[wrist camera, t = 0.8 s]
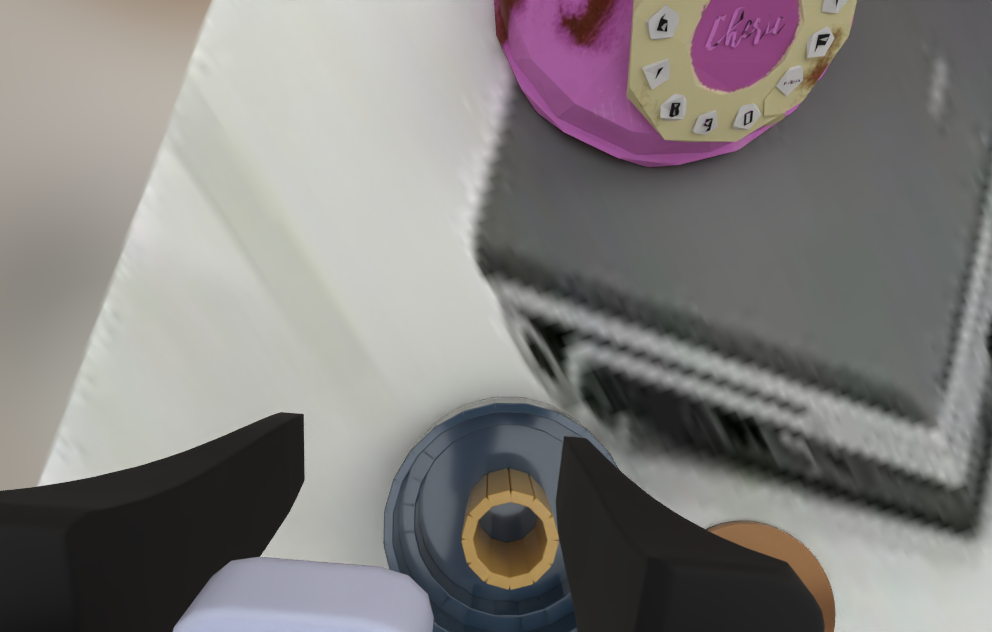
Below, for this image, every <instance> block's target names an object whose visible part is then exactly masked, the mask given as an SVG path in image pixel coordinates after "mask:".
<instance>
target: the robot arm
mask: <svg viewBox="0 0 992 632" xmlns="http://www.w3.org/2000/svg"><path fill="white" fill-rule="evenodd" d="M303 482H304V414H295V413H283V412H281V413H278V414H274V415H272V416H269V417H266V418H264V419H261V420H259V421H257V422H254V423H252V424H250V425H248V426H245V427H243V428H241V429H238V430H236V431H234V432H232V433H229V434H227V435H225V436H222V437H220V438H217V439H215V440H212V441H210V442H207V443H205V444H202V445H200V446H197V447H195V448H192V449H190V450H187V451H185V452H182V453H179V454H176V455H173V456H170V457H167V458H164V459H161V460H158V461H154V462H151V463H148V464H145V465H141V466H137V467H134V468H129V469H125V470H121V471H117V472H113V473H109V474H104V475H100V476H96V477H91V478H86V479H81V480H76V481H70V482H65V483H58V484H52V485H46V486H39V487H32V488H24V489H15V490H5V491H0V632H433V619H434V617H433V613H432V609H431V605H430V601H429V597H428V594H427V593H426V592H425V591H424V590H423V589H422V588H421V587H420V586H419V585H418V584H417V583H416V582H415V581H414V580H413V579H412V578H410V577H409V576H408V575H405V574H402V573H399V572H396V571H392V570H389V569H386V568H383V567H376V566H364V565H352V564H340V563H328V562H316V561H304V560H292V559H280V558H268V557H260V556H261V554H262V553H263V551H264V550H265V548H266V547H267V545H268V544H269V542H270V541H271V539H272V538H273V536H274V535H275V533H276V532H277V530H278V529H279V527H280V526H281V524H282V523H283V521H284V520H285V518H286V516H287V515H288V513H289V512H290V510H291V508H292V506H293V504H294V502H295V500H296V498H297V496H298V493H299V491H300V489H301V487H302V484H303ZM556 514H557V527H558V536H559V541H560V546H561V550H562V555H563V560H564V565H565V569H566V574H567V578H568V583H569V588H570V592H571V597H572V602H573V606H574V612H575V618H576V624H577V632H824V630H825V623H824V618H823V613H822V610H821V608H820V606H819V605H818V603H817V601H816V600H815V598H814V596H813V595H812V594H811V592H810V591H809V590H808V588H807V587H806V586H805V584H804V583H803V582H802V580H801V579H800V578H799V576H798V575H797V574H796V572H795V571H794V570H793V568H792V567H791V566H790V565H789V563H788V562H786V561H783V560H780V559H777V558H774V557H771V556H768V555H765V554H763V553H760V552H757V551H754V550H751V549H748V548H746V547H743V546H741V545H738V544H736V543H734V542H731V541H729V540H727V539H724V538H722V537H720V536H718V535H716V534H714V533H711V532H709V531H707V530H705V529H703V528H701V527H700V526H698V525H696V524H694V523H692V522H690V521H689V520H687V519H685V518H683V517H682V516H680V515H678V514H677V513H675V512H673V511H672V510H670V509H669V508H667V507H666V506H664V505H663V504H661V503H660V502H658V501H657V500H655V499H654V498H653V497H651V496H650V495H649V494H647V493H646V492H645V491H643V490H642V489H641V488H640V487H638V486H637V485H636V484H635V483H634V482H632V481H631V480H630V479H629V478H628V477H627V476H625V475H624V474H623V473H622V472H621V471H620V470H619V469H618V468H617V467H616V466H615V465H613V464H612V463H611V462H610V461H609V460H608V459H607V458H606V457H605V456H604V455H603V454H602V453H601V452H600V451H599V450H598V449H597V448H596V447H595V446H594V445H593V444H592V443H591V442H590V441H589V440H588V439H587V438H580V437H568V436H564V440H563V447H562V455H561V463H560V471H559V479H558V486H557V494H556Z"/></svg>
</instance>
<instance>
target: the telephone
mask: <svg viewBox="0 0 992 632" xmlns="http://www.w3.org/2000/svg"><path fill="white" fill-rule="evenodd" d="M856 3H857V0H494V5H495V20H496V35H497V37H498V40H499V42H500V44H501V46H502V48H503V50H504V53H505V55H506V57H507V59H508V61H509V63H510V66H511V68H512V70H513V72H514V74H515V76H516V79H517V81H518V83H519V85H520V87H521V89H522V91H523V92H524V94H525V95H526V97H527V98H528V100H529V101H530V103H531V104H532V106H533V107H534V109H535V110H536V112H537V113H538V114H540V115H541V116H543V117H544V118H545V119H547V120H548V121H549V122H551V123H552V124H553V125H555V126H556V127H557V128H559V129H560V130H562V131H563V132H564V133H567V134H569V135H571V136H573V137H575V138H577V139H579V140H581V141H583V142H585V143H587V144H589V145H592V146H594V147H596V148H598V149H600V150H602V151H604V152H606V153H608V154H610V155H612V156H614V157H616V158H619V159H623V160H626V161H629V162H632V163H636V164H639V165H642V166H646V167H659V166H671V165H680V164H684V163H688V162H692V161H697V160H701V159H705V158H709V157H713V156H717V155H721V154H726V153H730V152H734V151H738V150H739V149H740V148H742V147H743V146H745V145H746V144H748V143H749V142H750V141H752V140H753V139H755V138H756V137H757V136H759V135H760V134H762V133H763V132H765V131H766V130H767V129H769V128H770V127H772V126H773V125H774V124H776V123H777V122H779V121H781V120H783V119H784V117H786V116H787V115H789V114H790V113H791V112H793V111H794V110H796V109H797V108H798V106H799V104H800V103H801V102H802V101H803V100H804V99H805V97H806V96H807V95H808V93H809V92H810V90H811V89H812V87H813V86H814V85H815V83H816V82H817V81H818V80H819V79H820V78H822V77H823V75H824V73H825V71H826V70H827V68H828V66H829V64H830V62H831V61H832V59H833V58H834V56H835V55H836V54H837V52H838V51H839V49H840V48H841V47H842V45H843V44H844V42H845V41H846V39H847V38H848V37H849V33H850V28H851V25H852V24H853V17H854V11H855V7H856Z"/></svg>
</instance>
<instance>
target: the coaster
mask: <svg viewBox="0 0 992 632" xmlns="http://www.w3.org/2000/svg"><path fill="white" fill-rule="evenodd" d="M707 531H709V532H711V533H714V534H716V535H718V536H720V537H722V538H724V539H727V540H729V541H731V542H734V543H736V544H738V545H741V546H743V547H746V548H748V549H751V550H754V551H757V552H760V553H763V554H765V555H768V556H771V557H774V558H777V559H780V560H783V561H786V562H788V563H789V565H790V566H791V567H792V568H793V570H794V571H795V572H796V574H797V575H798V576H799V578H800V579H801V580H802V582H803V583H804V584H805V586H806V587H807V588H808V590H809V591H810V592H811V594H812V595H813V596H814V598H815V600H816V601H817V603H818V605H819V606H820V608H821V610H822V613H823V618H824V623H825V630H824V632H834V627H835V603H834V597H833V593H832V589H831V586H830V583H829V580H828V578H827V576H826V574H825V572H824V570H823V568H822V566H821V565H820V563H819V562H818V560H817V559H816V558H815V556H814V555H813V554H812V553H811V552H810V551H809V549H807V548H806V547H805V546H804V545H803V544H802V543H801V542H799V541H798V540H797V539H795V538H794V537H792V536H791V535H789V534H788V533H786V532H784V531H782V530H780V529H778V528H776V527H773V526H770V525H767V524H763V523H759V522H752V521H733V522H728V523H723V524H720V525H717V526H714V527H711V528H709V529H707Z"/></svg>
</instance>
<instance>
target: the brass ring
mask: <svg viewBox="0 0 992 632" xmlns="http://www.w3.org/2000/svg"><path fill="white" fill-rule="evenodd" d="M509 502H512V503H516V504H519V505H523V506H526V507H529V508H530V509H531V510H532V511H533V512H534V513H535V514H536V515H537V516H538V517H537V520H536V524H535V527H534V528H533V529H532V530H531V531H530V532H529V533H528V534H527V535H526V536H525V537H524V538H523V539H520V540H516V541H512V542H508V543H506V542H503V541H499V540H496V539H492V538H491V537H490V536H489V535H488V534H487V533H486V532H485V531H484V530H483V529H482V528H481V527H480V524H479V519H480V518H481V517H482V516H483V515H484V514H485V513H486V512H487V511H488V510H489V509H491V508H492V507H493V506H497V505H501V504H505V503H509ZM461 537H462V539H461V542H462V546H463V550H464V555H465V559H466V562H467V563H468V566H469V567H470V568H471V569H472V570H473V571H474V572H475V573H476V574H477V575H478V576H479V577H480V579H481V580H482V581H484V582H485V581H486V583H487V584H490V585H493V586H497V587H500V588H504V589H507V590H508V589H509V586H510V589H511V590H513V589H517V588H520V587H524V586H528V585H532V584H533V581H534V582H537V581H538V580H539V578H540V577H541V576H542V575H543V574H544V573H545V572H546V571H547V570H548V569H549V568H550V567H551V564H553V562H554V559H555V555H556V551H557V548H558V544H559V541H558V539H559V536H558V532H557V528H556V524H555V520H554V516H553V514H552V511H551V508H550V505H549V502H548V499H547V496H546V493H545V491H544V490H543V488H542V487H541V486H540V485H539V484H538V483H537V482H536V480H535V479H534V478H533V477H532V476H531V475H529V476H528V474H527V473H524V472H521V471H517V470H514V469H509V470H508V469H507V468H506V469H502V470H498V471H494V472H490V473H488V475H485V476H484V477H483V478H482V479H481V480H480V481H479V482H478V483H477V484H476V485H475V486H474V487H473V489H472V490H471V492H470V496H469V499H468V503H467V506H466V511H465V517H464V523H463V530H462V536H461Z"/></svg>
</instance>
